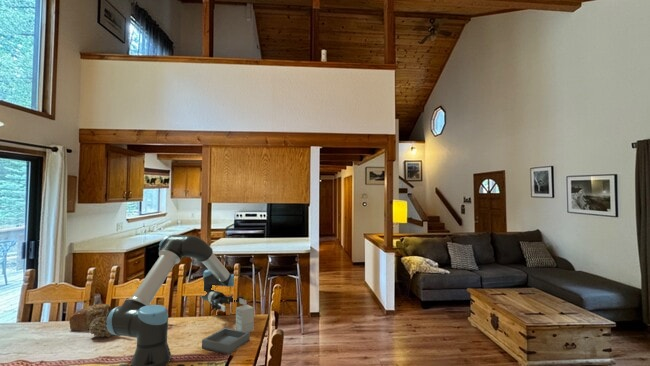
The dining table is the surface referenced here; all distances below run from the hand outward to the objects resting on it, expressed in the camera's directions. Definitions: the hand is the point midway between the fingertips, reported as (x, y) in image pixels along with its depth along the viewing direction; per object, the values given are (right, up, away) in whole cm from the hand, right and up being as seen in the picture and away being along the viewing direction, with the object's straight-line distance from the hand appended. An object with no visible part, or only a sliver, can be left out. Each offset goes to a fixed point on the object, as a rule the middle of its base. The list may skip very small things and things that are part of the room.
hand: (235, 305), depth 177 cm
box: (+2, -9, -24) cm, 26 cm away
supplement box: (+7, -11, -8) cm, 15 cm away
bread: (-84, -12, +2) cm, 85 cm away
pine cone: (-61, -10, -15) cm, 64 cm away
